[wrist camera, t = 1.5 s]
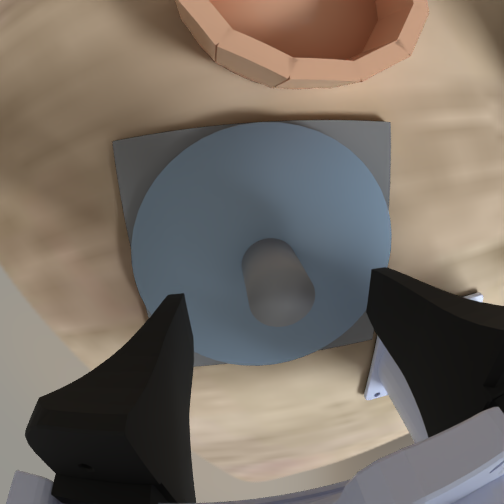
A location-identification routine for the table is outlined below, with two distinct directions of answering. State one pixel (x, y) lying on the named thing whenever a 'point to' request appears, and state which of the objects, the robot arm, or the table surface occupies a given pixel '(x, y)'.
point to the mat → (174, 142)
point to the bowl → (305, 38)
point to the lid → (262, 241)
